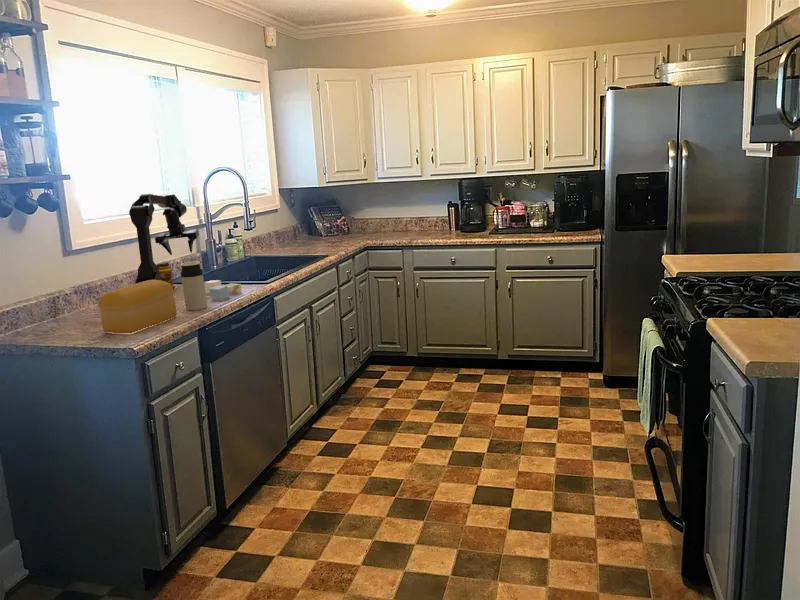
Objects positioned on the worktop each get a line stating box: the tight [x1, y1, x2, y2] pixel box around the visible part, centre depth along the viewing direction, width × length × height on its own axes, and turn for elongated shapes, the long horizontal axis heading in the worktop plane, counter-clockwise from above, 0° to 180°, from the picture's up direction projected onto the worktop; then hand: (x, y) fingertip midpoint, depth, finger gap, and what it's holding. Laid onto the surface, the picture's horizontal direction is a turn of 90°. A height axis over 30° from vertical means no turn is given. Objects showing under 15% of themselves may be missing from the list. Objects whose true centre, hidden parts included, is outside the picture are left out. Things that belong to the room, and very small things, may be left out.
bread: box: [97, 280, 177, 333], centre depth 238 cm, size 24×13×15 cm, turn 160°
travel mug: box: [180, 261, 208, 311], centre depth 258 cm, size 8×8×18 cm
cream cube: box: [204, 279, 222, 294], centre depth 289 cm, size 5×5×5 cm
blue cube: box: [209, 284, 230, 302], centre depth 273 cm, size 5×5×5 cm
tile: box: [228, 294, 241, 299], centre depth 277 cm, size 6×4×1 cm, turn 147°
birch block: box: [223, 283, 243, 295], centre depth 282 cm, size 6×6×4 cm
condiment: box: [156, 262, 178, 289], centre depth 305 cm, size 7×8×12 cm
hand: (181, 253), depth 309 cm, fingers open, 9 cm apart
